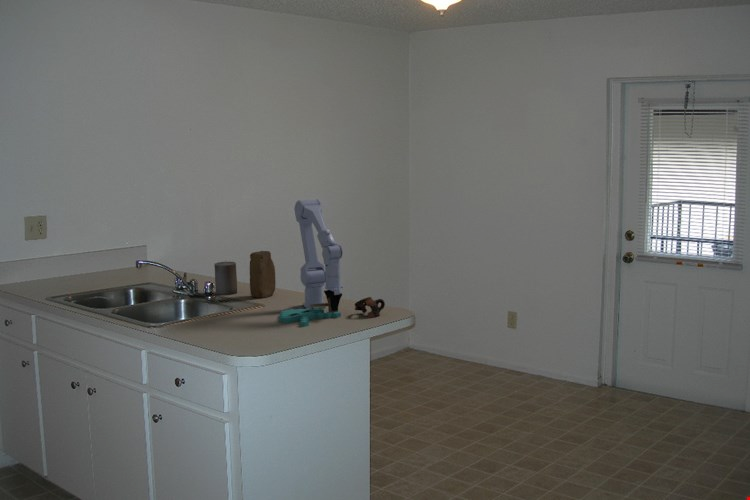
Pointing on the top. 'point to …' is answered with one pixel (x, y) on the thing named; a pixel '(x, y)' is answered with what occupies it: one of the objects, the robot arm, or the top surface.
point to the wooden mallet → (324, 306)
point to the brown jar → (262, 274)
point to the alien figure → (305, 315)
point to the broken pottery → (372, 304)
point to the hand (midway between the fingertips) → (333, 309)
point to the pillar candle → (225, 278)
